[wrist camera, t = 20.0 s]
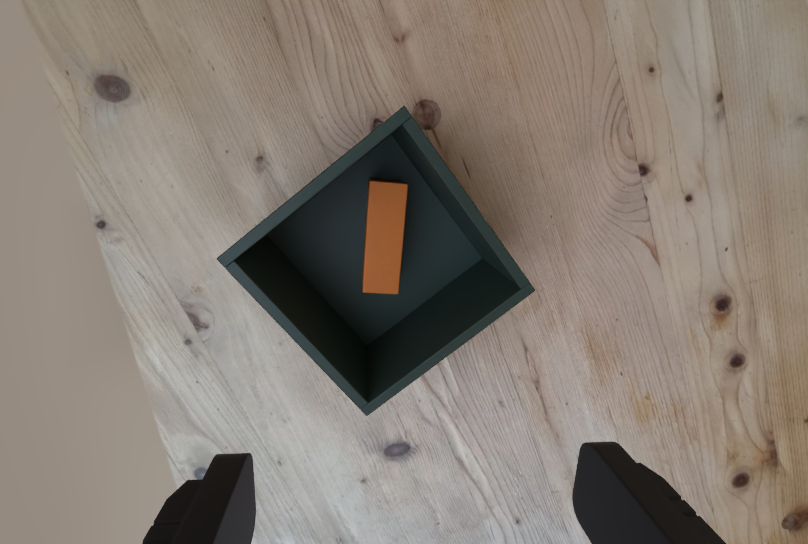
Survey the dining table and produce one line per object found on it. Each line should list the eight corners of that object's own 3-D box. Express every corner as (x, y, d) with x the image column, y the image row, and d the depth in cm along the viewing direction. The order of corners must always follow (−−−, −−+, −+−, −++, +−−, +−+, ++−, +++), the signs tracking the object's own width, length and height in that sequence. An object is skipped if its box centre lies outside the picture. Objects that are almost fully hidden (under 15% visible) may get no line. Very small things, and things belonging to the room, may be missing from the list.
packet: (362, 292, 34) (369, 180, 31) (362, 276, 39) (368, 178, 36) (398, 294, 34) (408, 183, 32) (394, 278, 39) (402, 181, 37)
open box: (256, 232, 37) (215, 258, 27) (392, 121, 36) (404, 105, 26) (365, 353, 41) (366, 416, 31) (490, 257, 40) (535, 290, 30)
